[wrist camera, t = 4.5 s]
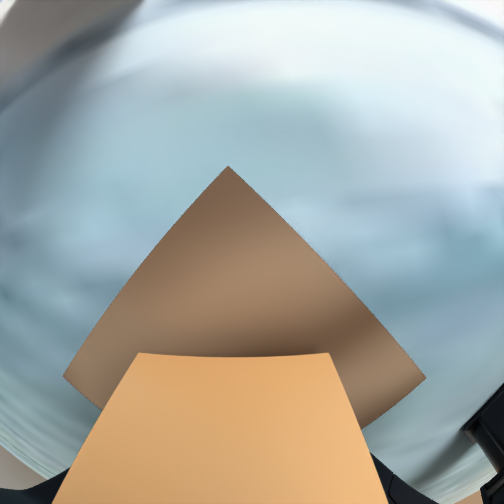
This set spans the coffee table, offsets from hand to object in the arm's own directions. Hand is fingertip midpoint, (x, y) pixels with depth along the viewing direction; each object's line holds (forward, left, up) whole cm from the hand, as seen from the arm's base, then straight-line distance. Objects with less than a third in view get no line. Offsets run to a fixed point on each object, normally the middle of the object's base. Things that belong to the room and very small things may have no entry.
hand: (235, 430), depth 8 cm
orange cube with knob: (0, 0, -1) cm, 1 cm away
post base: (0, 0, -3) cm, 3 cm away
